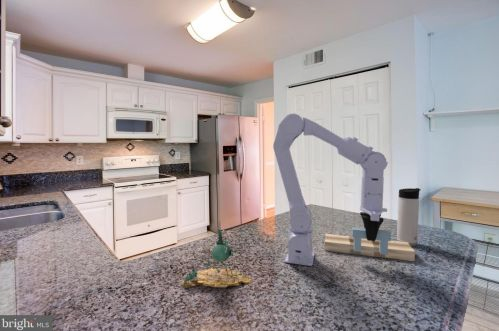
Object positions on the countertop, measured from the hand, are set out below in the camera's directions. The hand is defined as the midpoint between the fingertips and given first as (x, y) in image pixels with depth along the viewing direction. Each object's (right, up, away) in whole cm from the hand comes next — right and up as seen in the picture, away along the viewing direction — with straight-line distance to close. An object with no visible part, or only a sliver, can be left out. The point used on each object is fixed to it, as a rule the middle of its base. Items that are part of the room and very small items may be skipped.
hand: (370, 238), depth 74 cm
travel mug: (+21, -7, +17) cm, 28 cm away
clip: (0, -4, 0) cm, 4 cm away
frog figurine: (-44, -9, -9) cm, 46 cm away
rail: (+3, -7, +10) cm, 13 cm away
